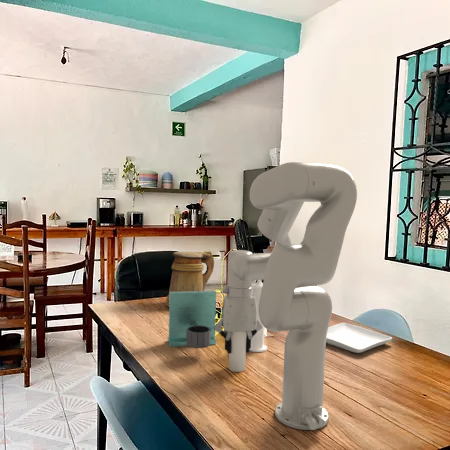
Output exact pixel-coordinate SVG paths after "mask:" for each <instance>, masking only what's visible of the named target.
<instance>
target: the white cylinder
mask: <svg viewBox="0 0 450 450" xmlns="http://www.w3.org/2000/svg"><path fill="white" fill-rule="evenodd" d="M246 335H247V331H239V332H232V333H231V336H230V340H231V353H230V354H228V370H230V372H234V373H240V372H244V371H245V370H246V359H247V358H246V354H247V352H246Z"/></svg>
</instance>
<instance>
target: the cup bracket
mask: <svg viewBox="0 0 450 450" xmlns="http://www.w3.org/2000/svg"><path fill="white" fill-rule="evenodd" d="M168 295H169V307H168V336H167V343H168V346H169V348H173V347H174V348H175V347H190V348H193V349H204V348H208V347H210V346H213V345H217V339H216V336H215V335H216V330H215V329H214V327H215V326H216V311H217V310H216V307H217V306H216V305H217V292H216V290H204V291H185V292H170V294H169V293H168Z"/></svg>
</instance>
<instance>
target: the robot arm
mask: <svg viewBox="0 0 450 450" xmlns="http://www.w3.org/2000/svg"><path fill="white" fill-rule="evenodd" d="M357 200H358V189H357V185H356V182H355V179H354V177H353V176H352V174H351V173H350V172H349V171H348V170H346V169H345V168H343V167H340V166H338V165H333V164H329V163H328V164H327V163H311V162H297V161H295V162H292V161H289V162H285V163H282V164H280V165H277V166H275V167H273V168H270V169H267V170H266V171H264V172H262V173H260V174H259V175H257V176H256V178H255V179H254V180H253V182H252V183H251V186H250V189H249V201H250V203H251V205H252V206H254V208H256V209H259V210H262V212H261V215H260V216H259V219H258V220H257V227H258V230H259V231H260V233H261V234H262V235H263V236H264V237H265V238H267V239H269V240H271V241H273V242H275V244H274V246H273V249H272V251H270V252H263V253H261V252H260V253H259V252H258V253H257V252H255V253H253V252H251V251H249V250H246V249H235V250H231V251H229V253H228V256H227V280H226V281H227V283H226V284H227V285H226V287H225V288H222V289H221V291H222V294H226V295H224V298H223V303H222V307H221V309H222V310H221V317H220V319H219V321H218V322H217V323H215V327H214V329H215V332H217V334H220V335H221V336H222V337H223V338H224V350H225V351H226V352H227V354H228V355H229V354H230V353H231V340H230V336H231V333H232V332H239V331H247V335H246V354H247V353H250V351H249V349H250V348H251V339H252V338H253V336H254V335H255V334H256V333H257V332H258V331H259V330H260V329H261V328H262V325H261V324H260V323H259V322H258V320H257V312H256V301H255V297H254V296H252V286H253V285H254V284H253V283H254V281H256V282H257V281H258V280H261V281H263V282H262V283H263V286H262V291H261V296H260V301H259V316H260V320H261V323H262V324H263V326H264V329H266V330H268V331H270V332H274V333H278V332H286V331H288V332H287V334H286V337H285V340H284V349H283V351H284V353H283V354H284V355H283V371H282V375H283V376H282V395H281V396H282V397H281V402H280V403H278V404H277V405H276V407H275V410H274V415H275V418H276V419H277V420H278V421H279V422H280V423H281V424H283V425H285V426H287V427H289V428H293V429H296V430H303V431H316V430H318V429H321V428H323V427H325V426H326V425H327V424H328V423H329V412H328V411H327V409H326V408H325V407H323V404H324V403H323V402H324V401H323V400H324V384H325V383H324V382H325V381H324V380H325V367H326V366H325V364H326V363H325V361H326V347H327V346H326V345H327V343H326V337H327V331H328V327H330V323H331V318H332V314H333V313H332V312H333V301H332V299H331V296H330V295H329V293H328V292H327V291H326V290H325V289H324V288H321V287H320V286H322V285H326V284H328V283H330V282H331V281H332V280H333V279H334V276H335V273H336V271H337V266H338V262H339V258H340V255H341V252H342V247H343V244H344V239H345V236H346V231H347V229H348V226H349V224H350V222H351V218H352V216H353V214H354V210H355V208H356V203H357ZM306 202H307V203H309V202H310V203H320V206H319V207H318V208H317V209H316V210H315V211H314V212H313V213H312V215H311V216H310V217H309V220H308V221H307V224H306V226H305V231H304V232H305V233H304V235H303V238H302V241H301V242H299V243H293V244H292V242H291V238H290V236H289V232H290V231H291V229H292V227H293V225H294V223H295V221H296V219H297V217H298V215H299V213H300V211H301V209H302V207H303V205H304V203H306Z"/></svg>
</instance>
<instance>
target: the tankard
mask: <svg viewBox="0 0 450 450" xmlns="http://www.w3.org/2000/svg"><path fill="white" fill-rule="evenodd" d="M172 256H174V260H173V262H172V265H171V269H172V273H171V276H170V277H171V279H170V286H169V290H168V295H167V296H166V300H165V306H166V307H168V308H169V294H170V292H185V291H205V287H206V285H207V284H208V281H209V280H210V278H211V276H212V274H213V272H214V268H215V259H214V256H213V254H212V251H211V250H207V251H206V250H205V251H202V252H201V251H175V252H173V253H172ZM204 264H205V265H206V270H205V272H203V271H204V269H205V268H204Z"/></svg>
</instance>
